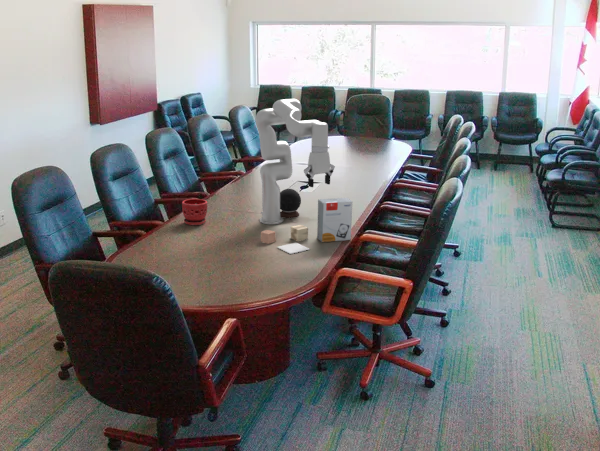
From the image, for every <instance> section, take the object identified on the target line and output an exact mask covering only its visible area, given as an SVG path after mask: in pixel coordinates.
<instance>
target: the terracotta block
mask: <svg viewBox="0 0 600 451" xmlns="http://www.w3.org/2000/svg"><path fill="white" fill-rule="evenodd" d="M260 242H261V243H264V244H268V245H270V244H272V243H274V242H276V231H274V230H270V229H266V230H265V229H264V230H263V231H260Z"/></svg>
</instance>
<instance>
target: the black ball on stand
mask: <svg viewBox="0 0 600 451" xmlns="http://www.w3.org/2000/svg"><path fill="white" fill-rule="evenodd" d="M301 204H302V197H301V195H300V193H299V192H298V191H297V190H295V189H294V188H285V189H283V190H282V191H281V190H280V217H282V218H283V219H296V218H299V217H300V213H299V211H298V209H299V208H300V207H301Z"/></svg>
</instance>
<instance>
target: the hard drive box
mask: <svg viewBox="0 0 600 451" xmlns="http://www.w3.org/2000/svg"><path fill="white" fill-rule="evenodd" d="M317 203H318V204H317V229H316V230H317V231H316V232H317V233H316V238H317V239H318V240H319V242H321V243H327V242H329V243H331V242H338V241H341V242H342V241H351V238H352V219H353V218H352V217H353V214H352V213H353V201H352V200H351V199H350V198H349V197H337V198H320V199H318V200H317Z"/></svg>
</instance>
